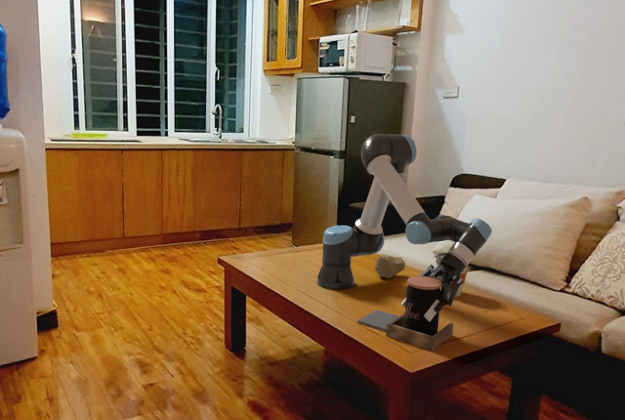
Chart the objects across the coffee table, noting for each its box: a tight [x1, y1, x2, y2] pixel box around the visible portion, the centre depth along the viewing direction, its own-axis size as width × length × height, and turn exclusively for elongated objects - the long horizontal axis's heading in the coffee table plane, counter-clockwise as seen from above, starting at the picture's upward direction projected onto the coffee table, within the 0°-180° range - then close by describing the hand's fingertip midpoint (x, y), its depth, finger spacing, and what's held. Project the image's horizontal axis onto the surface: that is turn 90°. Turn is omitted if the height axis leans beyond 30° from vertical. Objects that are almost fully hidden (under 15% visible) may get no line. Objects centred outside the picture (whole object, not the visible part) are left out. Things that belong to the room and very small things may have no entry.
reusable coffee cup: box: [435, 252, 469, 298], centre depth 211 cm, size 12×13×15 cm
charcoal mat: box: [356, 309, 400, 332], centre depth 180 cm, size 12×13×1 cm
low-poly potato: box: [374, 254, 406, 280], centre depth 229 cm, size 15×11×12 cm
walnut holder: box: [385, 312, 454, 351], centre depth 170 cm, size 16×15×4 cm
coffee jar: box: [403, 275, 442, 336], centre depth 169 cm, size 11×11×18 cm
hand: (414, 312), depth 168 cm, fingers closed on coffee jar, 11 cm apart
